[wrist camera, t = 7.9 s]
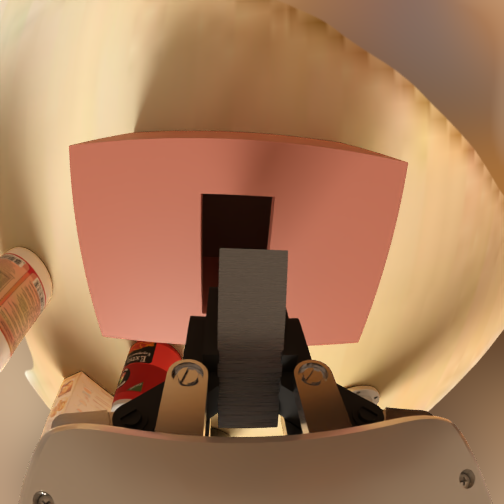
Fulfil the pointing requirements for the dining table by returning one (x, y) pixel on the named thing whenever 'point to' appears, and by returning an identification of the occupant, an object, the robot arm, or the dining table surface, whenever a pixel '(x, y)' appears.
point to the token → (250, 335)
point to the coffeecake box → (78, 398)
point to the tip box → (231, 225)
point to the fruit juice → (20, 297)
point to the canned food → (143, 370)
